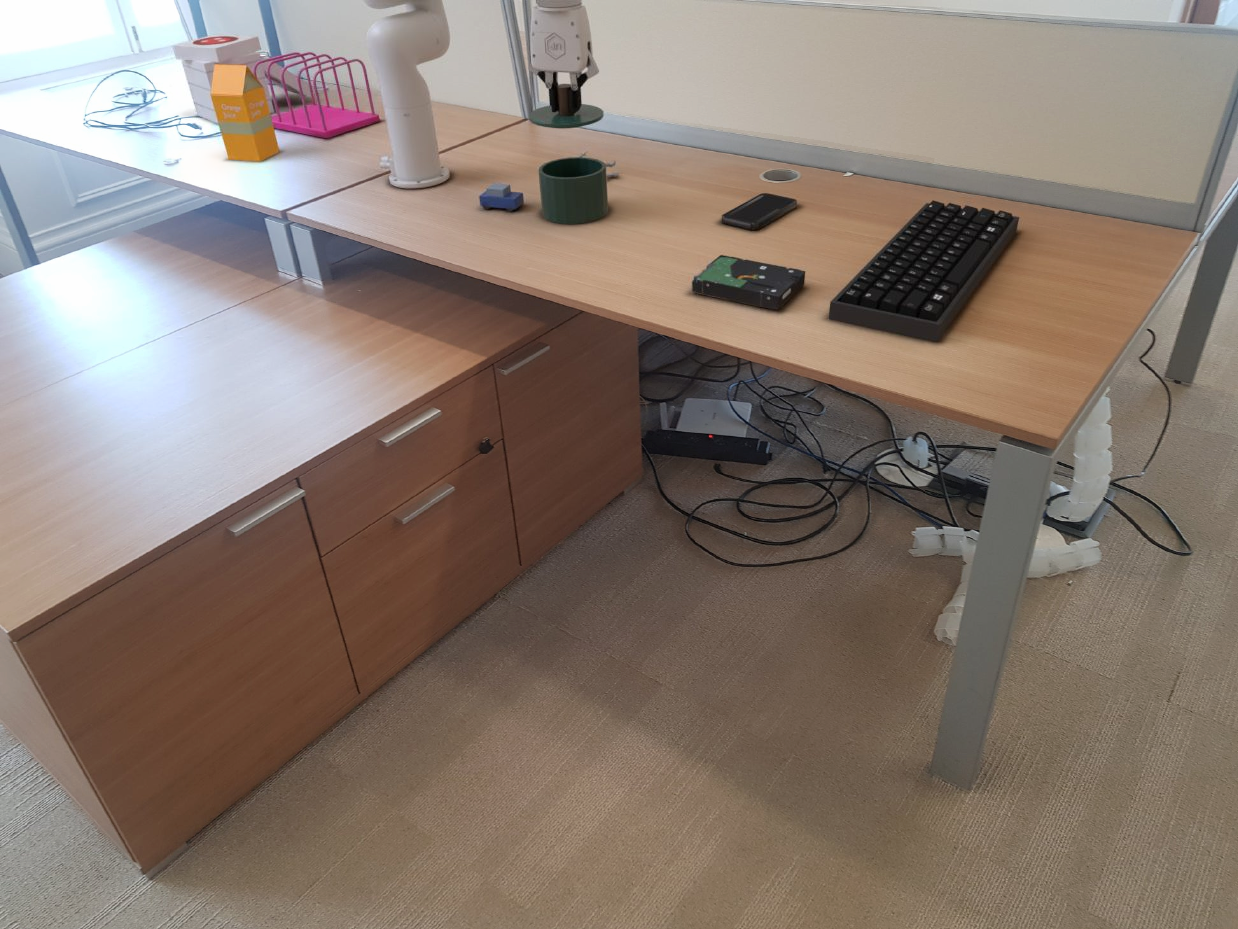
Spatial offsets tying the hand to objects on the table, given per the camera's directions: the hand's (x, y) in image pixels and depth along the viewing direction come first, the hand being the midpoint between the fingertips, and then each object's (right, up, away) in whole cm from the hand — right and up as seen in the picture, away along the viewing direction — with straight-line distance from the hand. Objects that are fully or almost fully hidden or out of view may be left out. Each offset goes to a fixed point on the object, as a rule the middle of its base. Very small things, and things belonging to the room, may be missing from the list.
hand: (566, 110), depth 167 cm
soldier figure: (+4, -5, +25) cm, 26 cm away
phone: (+35, -17, +5) cm, 40 cm away
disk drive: (+30, -36, -21) cm, 51 cm away
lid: (0, -1, +1) cm, 1 cm away
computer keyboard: (+59, -33, -18) cm, 70 cm away
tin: (+1, -15, +11) cm, 19 cm away
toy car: (-13, -13, +15) cm, 24 cm away
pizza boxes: (-89, +32, +86) cm, 128 cm away
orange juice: (-75, +8, +50) cm, 91 cm away
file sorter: (-66, +23, +70) cm, 99 cm away
